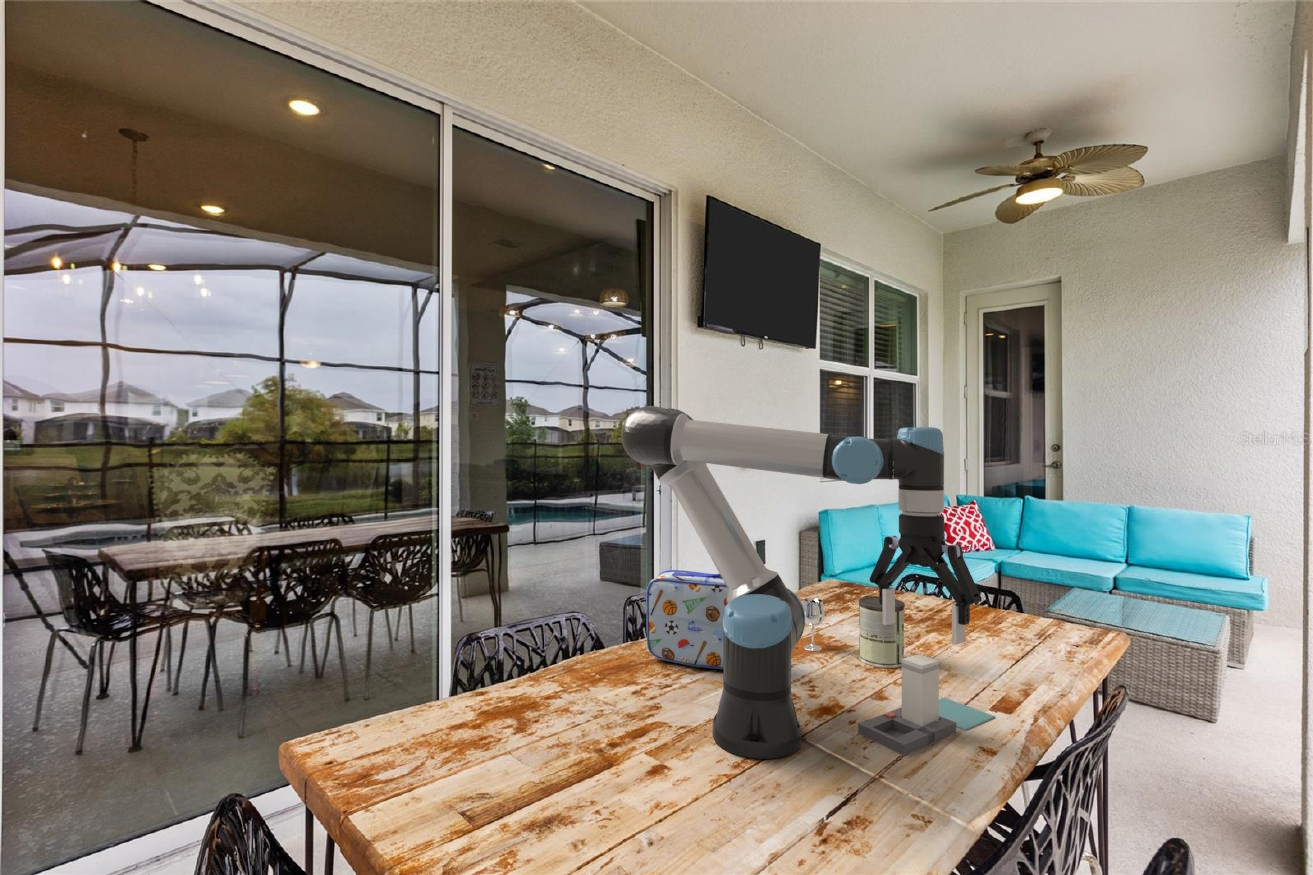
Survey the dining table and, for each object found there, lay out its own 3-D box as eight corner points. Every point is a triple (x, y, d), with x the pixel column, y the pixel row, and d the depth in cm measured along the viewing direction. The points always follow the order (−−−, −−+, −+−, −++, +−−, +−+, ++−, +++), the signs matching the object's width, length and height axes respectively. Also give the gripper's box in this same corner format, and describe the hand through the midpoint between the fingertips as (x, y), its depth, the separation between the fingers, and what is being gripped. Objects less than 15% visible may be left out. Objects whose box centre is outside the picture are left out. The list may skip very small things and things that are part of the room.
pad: (965, 735, 108) (965, 729, 108) (914, 714, 116) (914, 709, 116) (995, 721, 113) (995, 716, 113) (944, 702, 121) (944, 697, 121)
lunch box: (766, 663, 143) (767, 569, 143) (759, 678, 133) (760, 577, 133) (655, 649, 152) (656, 560, 152) (641, 663, 142) (642, 568, 142)
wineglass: (808, 652, 150) (808, 603, 151) (796, 645, 156) (797, 598, 156) (828, 651, 152) (829, 602, 152) (816, 643, 158) (817, 597, 158)
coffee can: (854, 652, 151) (854, 595, 151) (897, 654, 150) (897, 596, 150) (864, 667, 141) (864, 606, 141) (910, 669, 140) (910, 607, 140)
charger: (922, 735, 106) (922, 666, 106) (901, 726, 109) (901, 659, 109) (939, 728, 108) (939, 660, 109) (918, 719, 112) (918, 654, 112)
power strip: (904, 760, 99) (904, 743, 99) (858, 738, 106) (858, 721, 106) (956, 737, 107) (956, 720, 107) (910, 717, 114) (910, 702, 114)
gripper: (1003, 518, 101) (1004, 647, 100) (875, 506, 122) (875, 613, 121) (978, 521, 97) (980, 656, 96) (850, 508, 118) (850, 619, 117)
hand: (921, 632), depth 109 cm, fingers open, 13 cm apart
